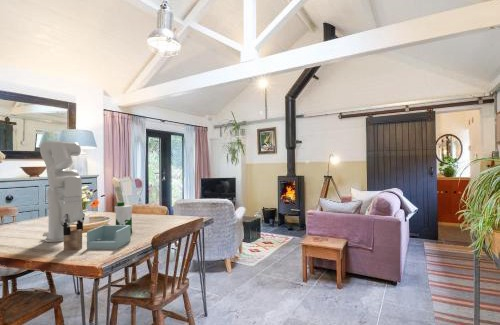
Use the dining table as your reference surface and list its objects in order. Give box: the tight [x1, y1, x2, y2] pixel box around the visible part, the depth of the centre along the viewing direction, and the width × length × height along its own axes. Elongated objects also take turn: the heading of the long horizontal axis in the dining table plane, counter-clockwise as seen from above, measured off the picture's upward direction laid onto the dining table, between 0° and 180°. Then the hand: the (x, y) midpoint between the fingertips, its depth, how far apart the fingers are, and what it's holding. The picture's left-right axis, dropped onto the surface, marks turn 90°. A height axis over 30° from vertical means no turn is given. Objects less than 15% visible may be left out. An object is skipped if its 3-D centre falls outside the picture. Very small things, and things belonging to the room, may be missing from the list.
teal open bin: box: [86, 224, 132, 250], centre depth 148 cm, size 16×15×9 cm
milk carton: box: [114, 201, 134, 234], centre depth 170 cm, size 9×9×20 cm
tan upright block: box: [63, 228, 83, 251], centre depth 140 cm, size 8×3×10 cm, turn 89°
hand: (73, 232), depth 139 cm, fingers open, 9 cm apart
